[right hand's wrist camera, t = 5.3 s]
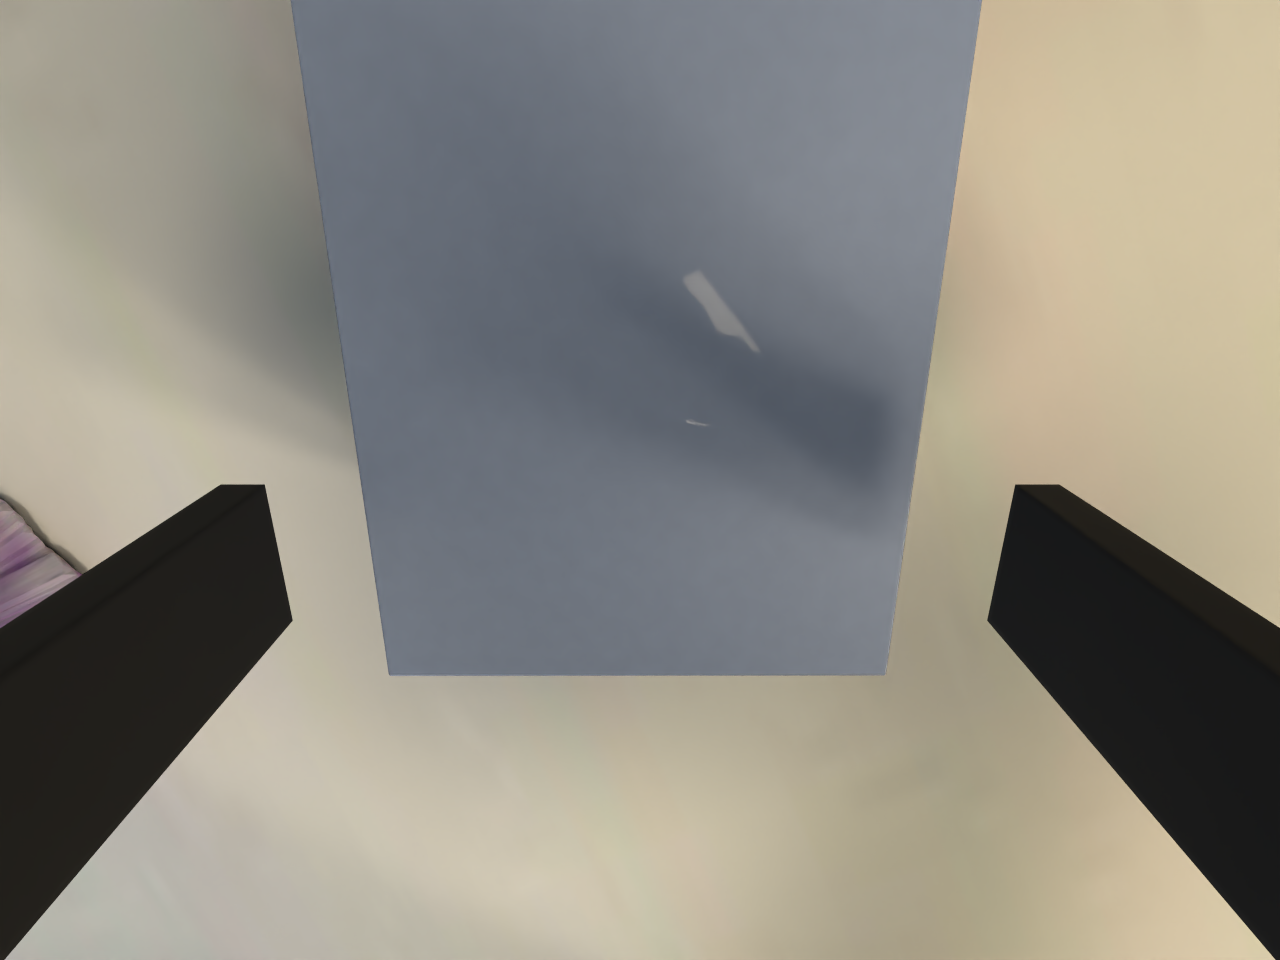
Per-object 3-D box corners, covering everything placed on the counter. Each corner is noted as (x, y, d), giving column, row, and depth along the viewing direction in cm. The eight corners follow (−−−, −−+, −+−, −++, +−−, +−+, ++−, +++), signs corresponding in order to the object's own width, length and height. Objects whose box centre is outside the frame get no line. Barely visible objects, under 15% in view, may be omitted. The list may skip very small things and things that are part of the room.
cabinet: (405, -343, 16) (147, -969, 8) (868, -343, 16) (1122, -968, 8) (478, 513, 24) (387, 677, 15) (797, 513, 24) (887, 676, 15)
